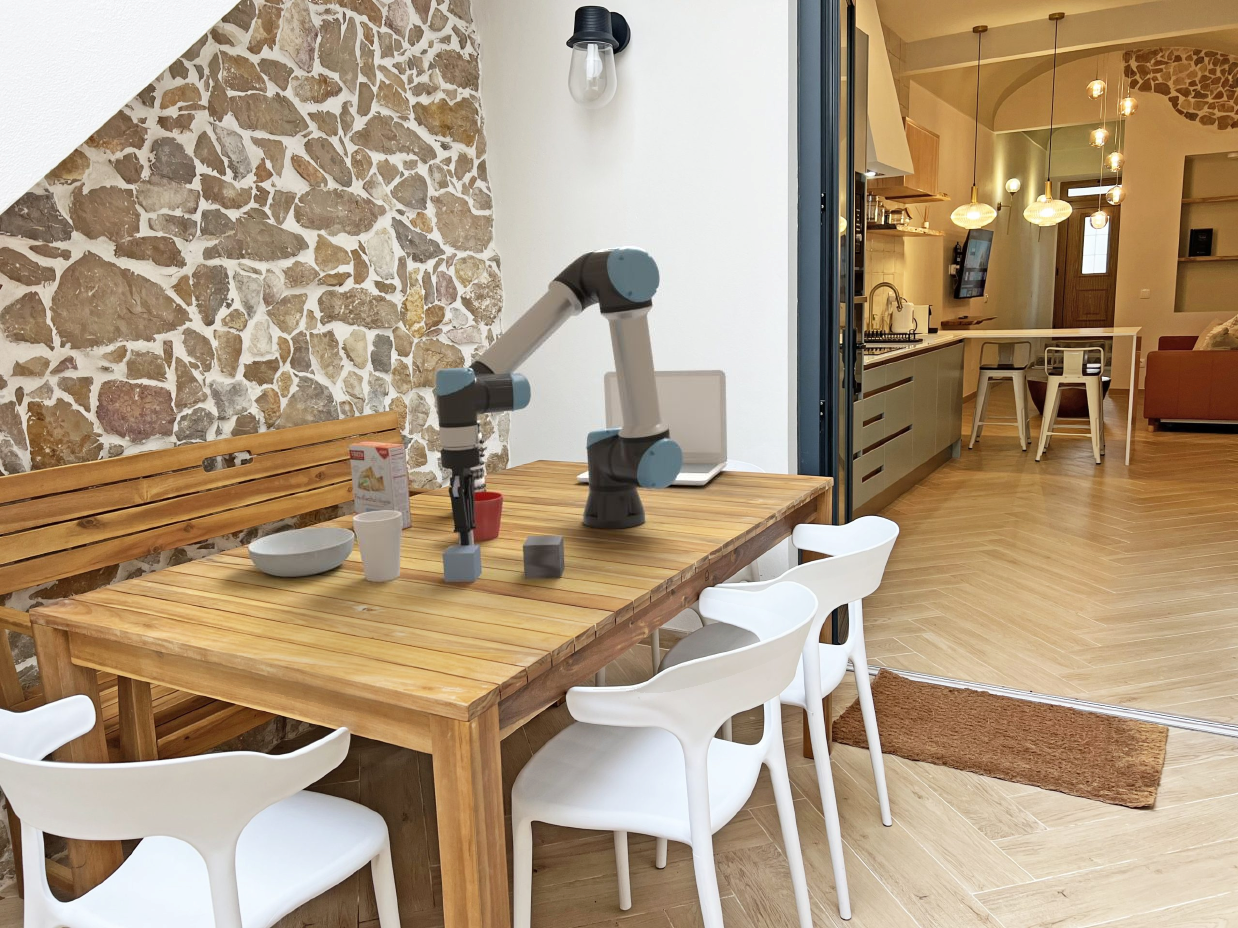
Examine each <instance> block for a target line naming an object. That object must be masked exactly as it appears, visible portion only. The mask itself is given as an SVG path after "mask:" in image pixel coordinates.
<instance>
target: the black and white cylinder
mask: <svg viewBox="0 0 1238 928" xmlns="http://www.w3.org/2000/svg"><path fill="white" fill-rule="evenodd" d="M481 423H482V421H481V420H479V419H478V418H477V425H478V438H479V443H478V444H477V445H476V446H477V447H478V448H479V456H480V464H479V465H478V466H476V467H473V468H470V469H471V474H473V476H475V484H474V492H487V489H486V487H487V483H485V476H484V475H485V474H484V467H485V464H486V463H485V461H483V458H485V456H486V455H485V453H483V452H484V451H485V450H486V449H485V447H483V446H482V445H483V444H485V440H484V439H483V438H484V436H482V432H481Z"/></svg>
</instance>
